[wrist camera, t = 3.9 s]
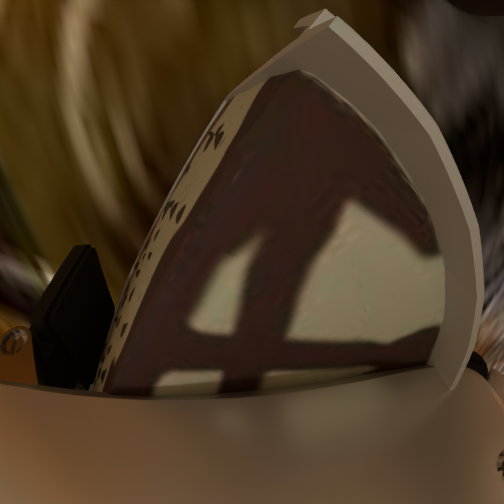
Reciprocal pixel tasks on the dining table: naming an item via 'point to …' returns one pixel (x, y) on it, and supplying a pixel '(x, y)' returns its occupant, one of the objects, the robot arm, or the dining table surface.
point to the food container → (304, 238)
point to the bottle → (482, 7)
